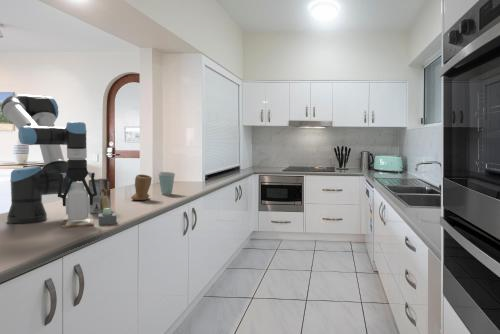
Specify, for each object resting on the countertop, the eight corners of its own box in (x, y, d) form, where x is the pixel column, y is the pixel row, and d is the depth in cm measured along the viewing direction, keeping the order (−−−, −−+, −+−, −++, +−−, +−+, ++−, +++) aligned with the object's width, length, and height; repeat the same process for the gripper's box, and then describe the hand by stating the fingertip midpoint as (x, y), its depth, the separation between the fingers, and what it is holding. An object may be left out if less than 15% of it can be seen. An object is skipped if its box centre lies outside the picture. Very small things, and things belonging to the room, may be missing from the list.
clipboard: (61, 228, 161) (61, 225, 161) (63, 221, 174) (63, 218, 174) (93, 225, 165) (93, 223, 165) (93, 219, 178) (93, 217, 178)
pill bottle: (66, 220, 164) (65, 184, 163) (69, 217, 172) (68, 182, 171) (87, 219, 166) (86, 183, 165) (89, 216, 174) (88, 181, 173)
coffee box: (99, 209, 204) (99, 178, 203) (111, 210, 202) (110, 178, 201) (88, 213, 195) (88, 180, 194) (100, 213, 193) (100, 180, 192)
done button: (103, 217, 169) (103, 209, 169) (103, 216, 172) (103, 208, 172) (111, 217, 171) (111, 209, 170) (111, 216, 174) (111, 208, 173)
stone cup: (150, 201, 234) (149, 175, 233) (129, 201, 233) (128, 175, 232) (154, 197, 249) (153, 173, 248) (134, 197, 248) (134, 173, 247)
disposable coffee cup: (170, 192, 272) (169, 170, 272) (178, 194, 264) (177, 171, 263) (155, 194, 266) (155, 171, 265) (163, 195, 257) (163, 172, 257)
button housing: (98, 224, 167) (98, 216, 167) (98, 221, 174) (98, 213, 173) (116, 223, 170) (116, 215, 169) (115, 220, 176) (115, 212, 176)
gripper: (48, 159, 160) (50, 216, 162) (103, 159, 168) (104, 213, 169) (50, 159, 167) (51, 213, 169) (103, 158, 175) (104, 210, 176)
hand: (78, 213), depth 169 cm, fingers closed on pill bottle, 8 cm apart
